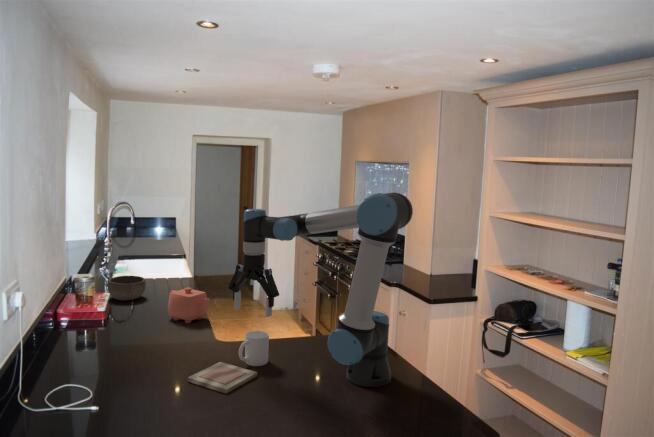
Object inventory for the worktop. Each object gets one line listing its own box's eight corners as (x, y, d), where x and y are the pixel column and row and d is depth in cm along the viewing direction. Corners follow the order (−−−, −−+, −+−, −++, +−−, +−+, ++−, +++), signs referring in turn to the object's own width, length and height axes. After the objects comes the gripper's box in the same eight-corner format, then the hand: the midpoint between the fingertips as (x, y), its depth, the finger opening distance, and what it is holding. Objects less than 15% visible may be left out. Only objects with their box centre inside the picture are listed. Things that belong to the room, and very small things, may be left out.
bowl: (138, 304, 256) (138, 283, 255) (101, 302, 256) (101, 282, 255) (150, 295, 273) (150, 276, 272) (116, 293, 274) (116, 274, 272)
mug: (245, 371, 181) (246, 342, 180) (231, 364, 187) (232, 335, 186) (272, 363, 190) (273, 335, 188) (258, 356, 195) (259, 329, 194)
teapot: (217, 320, 236) (217, 289, 235) (197, 327, 225) (197, 295, 224) (180, 311, 247) (181, 282, 245) (160, 318, 236) (160, 287, 234)
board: (257, 376, 178) (257, 371, 177) (226, 393, 164) (226, 388, 163) (220, 365, 185) (220, 361, 185) (187, 381, 171) (187, 376, 171)
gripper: (290, 255, 181) (288, 316, 184) (232, 248, 193) (231, 304, 195) (277, 259, 175) (276, 321, 177) (219, 250, 187) (218, 309, 189)
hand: (252, 312), depth 186 cm, fingers open, 13 cm apart
